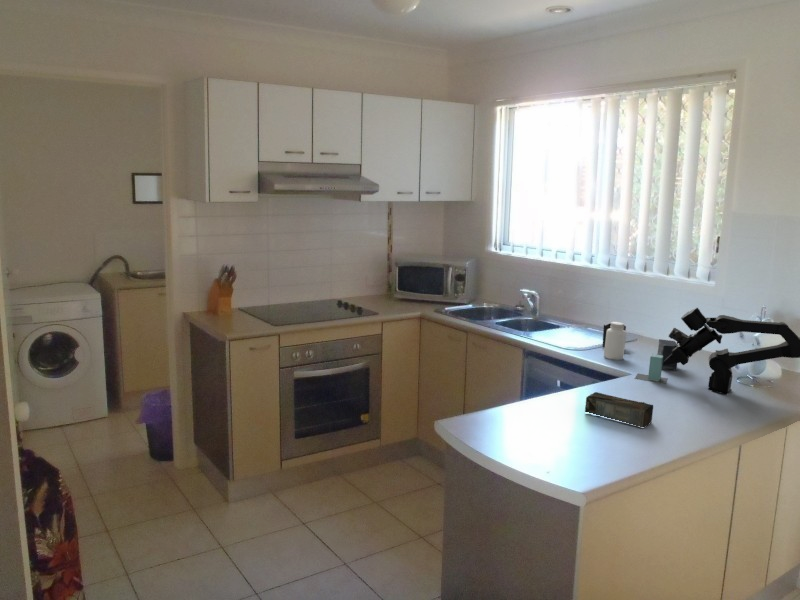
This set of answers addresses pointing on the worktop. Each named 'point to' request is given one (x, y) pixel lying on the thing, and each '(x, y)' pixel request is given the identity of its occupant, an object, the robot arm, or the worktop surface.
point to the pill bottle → (615, 341)
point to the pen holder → (606, 331)
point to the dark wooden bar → (619, 409)
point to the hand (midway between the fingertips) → (663, 363)
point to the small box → (667, 353)
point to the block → (655, 367)
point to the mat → (645, 378)
